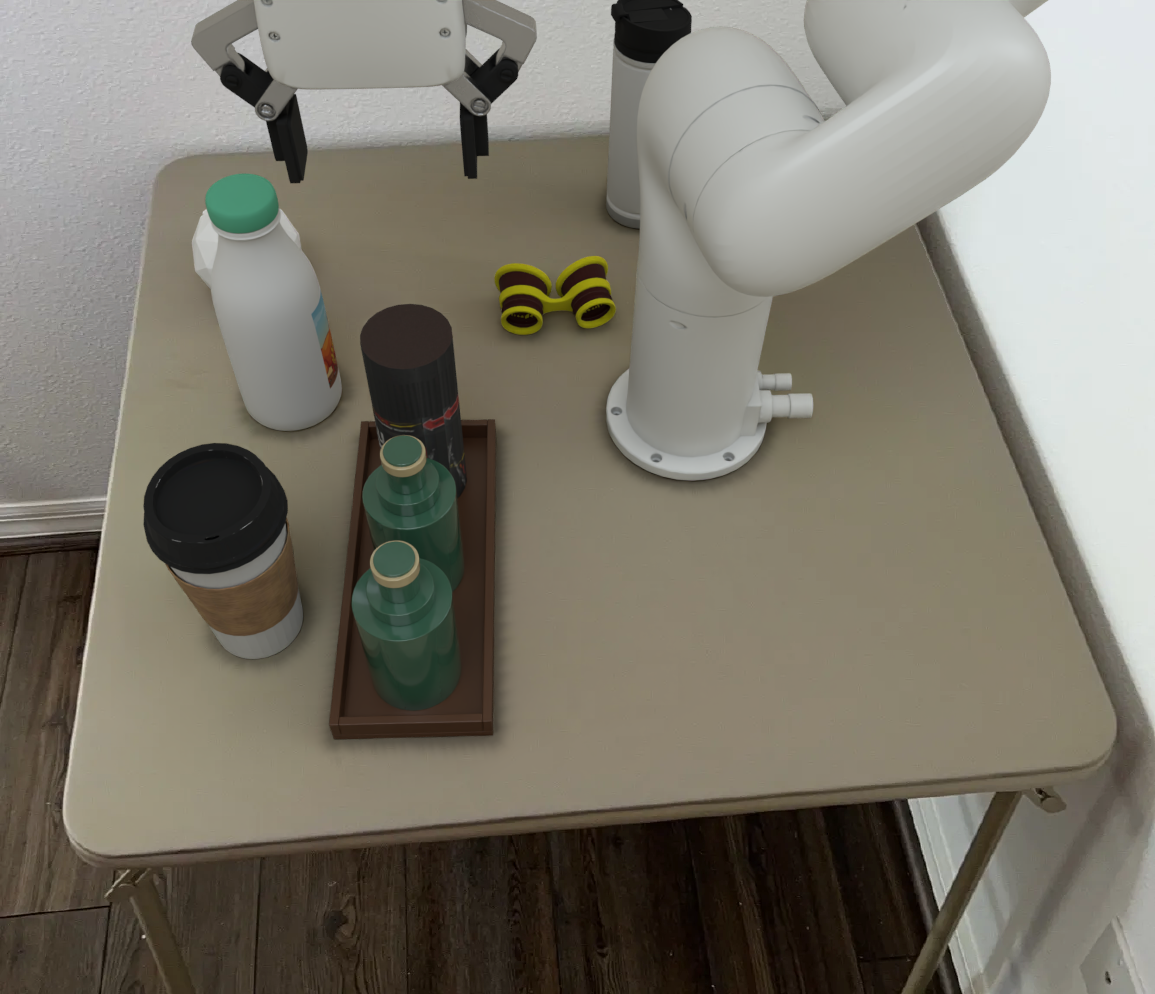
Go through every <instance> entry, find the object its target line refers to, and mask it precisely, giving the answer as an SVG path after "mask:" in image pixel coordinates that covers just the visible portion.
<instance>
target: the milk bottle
mask: <svg viewBox="0 0 1155 994" xmlns="http://www.w3.org/2000/svg"><path fill="white" fill-rule="evenodd" d="M204 202H205V203H204V204H205V208H206V209H207V212H208V215H209V218H210V220H211V225H212V228H213V229H214V231H215V232H216V233H217V234H218V247H217V253H216V256H215V260H214V264H213V268H212V273H211V289H210V294H211V300H212V305H213V307H214V308H213V309H214V312H215V316H216V320H217V323H218V326H219V330H220V333H221V337H222V340H223V343H224V346H225V349H226V352H227V356H228V358H229V362H230V365H231V368H232V371H233V374H234V377H235V380H236V383H237V385H238V386H237V387H238V389H239V393H240V396H241V398H242V401H243V403H244V406H245V409H246V411H247V413H248V414H249V416H251V417H252V418H253V419H254V420H255V421H256V422H257V423H259V424H260V425H262V426H264V427H266V428H268V429H271V430H276V431H283V432H293V431H294V432H295V431H300V430H305V429H308V428H310V427H314V426H316V425H318V424H319V423H321V422H323V421H324V420H325V419H327V418H328V417H330V416H331V414H332V413H333V412H334V411H335V410H336V407H337V406H338V404H339V402H340V399H341V397H342V392H343V386H342V379H341V372H340V368H339V364H338V358H337V355H336V351H335V350H336V349H335V346H334V340H333V336H332V332H331V331H332V330H331V327H330V323H329V319H328V315H327V310H326V306H325V301H324V297H323V294H322V290H321V286H320V283H319V279H318V277H317V276H318V275H317V274H316V271H315V269H314V267H313V265H312V263H311V261H310V259H309V258H308V257H307V255H306V253H305V252H304V250H302V248H301V249H300V248H299V247H298V245H297V244H296V243H295V242H294V241H293V240H292V239H291V238H290V237H289V236H288V235H287V233H286V232H285V230H284V229H283V227H282V226H281V224H280V222H279V221H280V218H281V211H280V209H281V208H280V204H279V199H278V195H277V191H276V189H275V187H274V185H273V184H272V183H271V181H269V180H268V179H267V178H266V177H263V176H262V175H258V174H254V173H246V172H245V173H235V174H229V175H227V176H225V177H222V178H220V179H218V180H216V181H215V182H214V183H213V184H212V185H210V187H208V189H207V191H206V194H205V199H204Z"/></svg>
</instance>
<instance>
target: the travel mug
mask: <svg viewBox="0 0 1155 994" xmlns="http://www.w3.org/2000/svg"><path fill="white" fill-rule="evenodd" d="M610 6H611V7H610V16H611V17H612V19H613V21H614V34H613V35H614V36H613V43H612V44H613V48H612V65H611V67H612V68H611V86H610V87H611V89H610V110H609V112H610V113H609V134H608V155H607V176H606V177H607V178H606V179H607V180H606V199H605V207H606V208H605V209H606V211H607V213H608V215H609V216H610V218H612V219H613V220H614V221H615V222H617V223H618V224H620V225H621V226H624V227H628V228H631V229H638V230H640V184H639V170H638V155H637V116H638V109H639V102H640V98H641V94H642V91H643V88H644V85H645V83H646V80H647V78H648V76H649V74H650V72H651V70H652V69H653V67H654V65H655V64H656V62H657V61H658V60H659V58H660V57H661V56H662V55H663V53H664V52H665V51H666V50H668V49H669V48H670V47H671V46H672V45H673V44H674V43H676V42H677V41H678V40H680V39H681V38H683V37H685V36H686V35H688V34H690V33H692V23H693V20H692V19H693V16H692V13H691V11H689V10H688V8H687V7H685V6H684V3H683V2H682V1H680V0H617V1H616V3H612V4H611V5H610Z"/></svg>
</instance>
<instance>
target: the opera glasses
mask: <svg viewBox="0 0 1155 994" xmlns="http://www.w3.org/2000/svg"><path fill="white" fill-rule="evenodd" d="M608 264H609V263H608V262H607V260H606V259H605V258H604V257H603V256H599V255H588V256H585V257H582V258H579V259H578V260H576V261H573V262H572V263H570V264H569V265H568V266H567V267H565V268H564V269H563V270H562V271H561V273H560V274H559V275H558V277H557V279H556V281H555V285H554V288H555V292H556V294H557V295H558V297H559V298H552V297H550V295H551V294H552V292H553V291H552V290H553V284H552V283H553V282H552V281H551V278H549V277H550V276H548V274H547V273H546V272H544V271H543V270H541V269H539V268H538V267H536V266H534V265H531V264H526V263H521V262H516V263H515V262H513V263H508V264H504V265H502V266H501V267H499V268H498V269H497V270H496V271H495V273H494V277H493V280H494V281H493V282H494V285H495V288H496V289H497V291H498V292H499V293H500V294H499V296H498V301H499V306H500V307H499V308H500V310H501V311H500V312H501V316H500V324H501V326H502V327H503V329H504V330H505V331H507V332H509V333H511V334H514V335H519V336H527V335H532V334H535V333H537V332H539V331H540V330H541V329H542V327H543V323H544V318H543V316H544V315H545V314H547V313H552V312H560V311H565V312H571V313H572V314H573V316H574V317H575V320H576V324H577V325H578V326H579V327H580V328H583V329H593V328H598V327H600V326H603V325H605V324H606V323H608V322H609V321H611V319H613V318H614V317H615V314H616V311H617V307H616V304H615V302H614V301H613V297H612V288H611V284H610V282H609V281H608V280H607V275H608V271H609V265H608Z"/></svg>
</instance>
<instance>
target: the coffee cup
mask: <svg viewBox="0 0 1155 994" xmlns="http://www.w3.org/2000/svg"><path fill="white" fill-rule="evenodd" d="M288 501H289V500H288V498H287V493H286V491H285V489H284V487H283V485H282V484H281V482H280V480H279V479H278V478H277V475H276V474H275V473H274V472H273V471H272V470H271V469H270V468H269V467H268V466H266V464H265V463H264V461H263V460H262V459H261V458H260V457H259V456H258V455H257V454H255V453H254V452H252V451H251V450H249V449H248V448H245V447H242V446H240V445H237V444H232V443H226V442H225V443H223V442H210V443H203V444H199V445H195V446H192V447H189V448H187V449H184V450H183V451H180V452H178V453H176V454H175V455H173V456H172V457H171V458H169V459H167V460H166V461H165V462H164V463H163V464H162V465H160V467H158V469H157V470H156V471H155V472H154V474H153V475H152V476H151V479H150V480H149V482H148V484H147V486H146V488H145V492H144V495H143V504H142V505H143V507H142V508H143V530H144V534H145V539H146V542H147V544H148V546H149V548H150V550H151V552H152V553H153V554H154V555H155V557H156V558H157V559H158V560H160V562H162V563H164V564H165V566H166V568H167V570H168V571H169V573H170V574H171V576H172V577H173V578H174V580H175V581H176V583H177V584H178V586H179V587H180V588H181V590H182V591H183V592H184V594H185V596H186V597H187V599H188V600H189V602H191V604H192V606H194V608H195V609H196V611H197V612H198V613H199V615H200V616H201V618H202V620H204V622H205V623H206V624H207V626H208V627H209V629H210V630H211V631H212V633H213V635H214V636H215V638H216V640H217V641H218V643H219V644H220V645H221V646H222V647H223V648H224V650H226V651H227V652H228V653H229V654H231V655H233V656H236V657H238V658H241V659H246V660H259V659H266V658H268V657H272V656H275V655H276V654H278V653H281V652H282V651H283V650H285V649H286V648H288V647H289V646H290V645H291V644H292V643H293V641H295V639H296V638H297V637H298V635H299V633H300V631H301V629H302V626H303V622H304V611H303V610H304V609H303V604H302V599H301V593H300V589H299V580H298V573H297V567H296V561H295V554H294V549H293V548H294V547H293V541H292V536H291V530H290V523H289V519H288V514H289V502H288Z"/></svg>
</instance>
